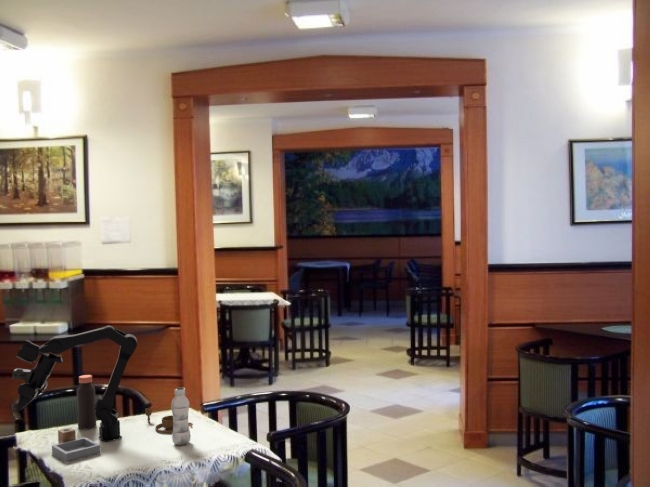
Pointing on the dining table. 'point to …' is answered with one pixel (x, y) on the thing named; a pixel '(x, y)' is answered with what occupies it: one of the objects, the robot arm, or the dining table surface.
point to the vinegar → (86, 403)
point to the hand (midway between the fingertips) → (21, 408)
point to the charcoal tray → (75, 449)
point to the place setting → (163, 422)
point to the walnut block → (66, 435)
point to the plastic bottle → (180, 418)
